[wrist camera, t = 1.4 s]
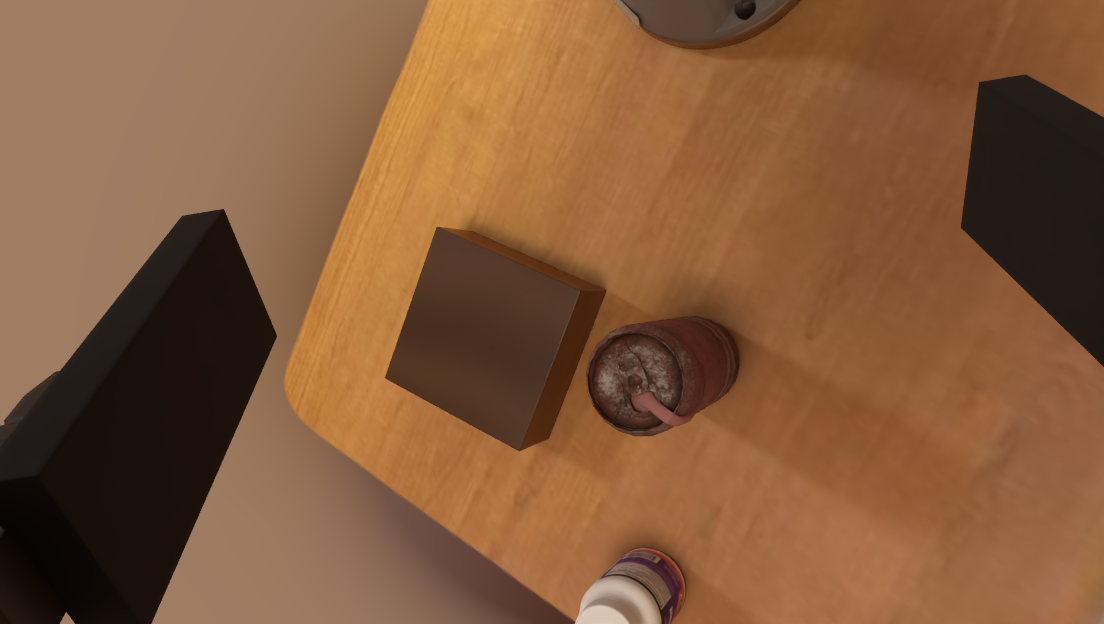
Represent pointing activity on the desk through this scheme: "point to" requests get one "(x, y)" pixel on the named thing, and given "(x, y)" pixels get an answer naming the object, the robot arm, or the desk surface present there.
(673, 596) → the pill bottle
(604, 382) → the can
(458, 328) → the walnut block
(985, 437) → the desk surface
